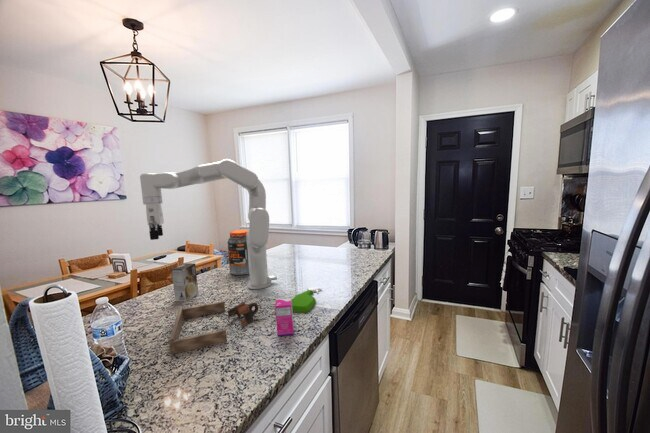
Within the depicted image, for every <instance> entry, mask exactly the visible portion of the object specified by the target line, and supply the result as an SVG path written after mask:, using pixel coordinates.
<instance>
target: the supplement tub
mask: <svg viewBox="0 0 650 433" xmlns="http://www.w3.org/2000/svg"><path fill="white" fill-rule="evenodd" d="M248 230H249V229H235V230H231V231H229V238H228V239H227V251H228V254H227V255H228V266H229V273H230V274H232V275H235V276H239V275H240V276H241V275H248V274H249V261H248V249H247V241H246V234H247V232H248Z"/></svg>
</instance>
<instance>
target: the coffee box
mask: <svg viewBox="0 0 650 433" xmlns="http://www.w3.org/2000/svg"><path fill="white" fill-rule="evenodd" d="M196 268H197V267H196V263H190V262H189V263H185V262H184V263H182V264H179V265H177V266H176V267H175V266H174V267H173V268H171V276H172V277H171V278H172V287H173V292H174V293H173V294H174V300H175V302H188V301H189V300H191V299H193V298H194V297H196V296H197V295H199V287H198V276H197V269H196Z"/></svg>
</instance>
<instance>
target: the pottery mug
mask: <svg viewBox="0 0 650 433" xmlns="http://www.w3.org/2000/svg"><path fill="white" fill-rule="evenodd" d="M253 307H254V310H252V309H253ZM258 311H259V304H258V303H256V302H252V303H249V304H246V302H245V301H244V302H241V303H240V304H237V305H236V306H234V307H232V308H231V309H229V310H228V311H227V318H228V319H230V318H231V317H236V316H237V317H241V316H243V317H244V319H242V320H240V325H241V327H242V328H244V327H245V326H247V325H249V324H251V323H253V321H254V317H255V315H256V314H257V313H258Z"/></svg>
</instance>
